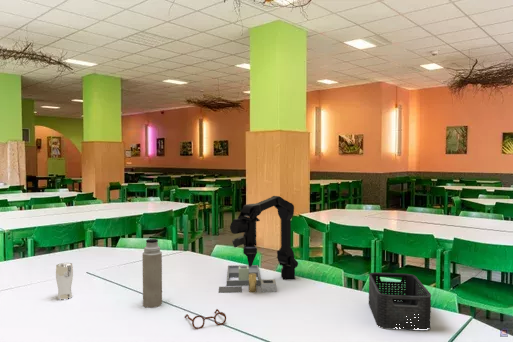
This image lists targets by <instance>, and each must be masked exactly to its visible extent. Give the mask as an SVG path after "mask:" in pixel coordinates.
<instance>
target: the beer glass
mask: <svg viewBox="0 0 513 342" xmlns="http://www.w3.org/2000/svg"><path fill="white" fill-rule="evenodd" d="M73 267H74V266H73V263H72V262H62V263H59V264H56V268H55V279H56V284H57V298H58V299H67V300H69V299H68V298H70V299H71V297H72V298H73V292H72V286H73V280H74V279H73V278H74V269H73ZM57 298H56V299H57ZM58 299H57V300H58Z"/></svg>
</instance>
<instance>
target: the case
mask: <svg viewBox="0 0 513 342" xmlns="http://www.w3.org/2000/svg"><path fill="white" fill-rule="evenodd" d="M239 266H248V267H249V264H248V265H247V264H246V265H245V264H244V265H243V264H242V265H241V264H240V265H232V264H231V265H228V266H227V270H226V271H227V272H226V282H225V283H226V287H232V286H242V287H249V280H239V279H234V278H239ZM259 268H260V267H259V265H258V264H257V265H256V264H255V265H254V264H252V266H251V267H249V274H250V273H255V274H256V278H257V279H256V286H260V280H262V278H261V273H260V269H259ZM233 277H234V278H233ZM230 278H231V279H230ZM233 279H234V280H233Z"/></svg>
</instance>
